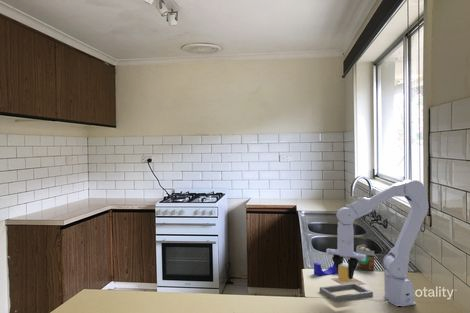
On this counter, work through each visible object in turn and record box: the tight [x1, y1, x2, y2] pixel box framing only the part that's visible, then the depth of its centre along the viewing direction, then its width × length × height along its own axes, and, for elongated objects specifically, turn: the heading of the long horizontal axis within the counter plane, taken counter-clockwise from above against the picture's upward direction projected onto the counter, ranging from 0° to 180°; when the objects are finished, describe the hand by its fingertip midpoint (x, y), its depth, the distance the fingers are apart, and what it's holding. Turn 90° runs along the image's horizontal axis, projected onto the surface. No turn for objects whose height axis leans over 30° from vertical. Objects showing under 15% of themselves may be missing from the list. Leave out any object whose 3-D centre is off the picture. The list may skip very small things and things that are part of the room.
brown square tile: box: [331, 277, 366, 286], centre depth 138 cm, size 10×10×1 cm
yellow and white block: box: [337, 261, 354, 282], centre depth 125 cm, size 4×5×6 cm
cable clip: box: [313, 262, 338, 277], centre depth 149 cm, size 12×4×6 cm, turn 109°
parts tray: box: [319, 283, 374, 303], centre depth 125 cm, size 10×16×2 cm, turn 109°
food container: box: [355, 244, 376, 272], centre depth 159 cm, size 12×6×10 cm, turn 178°
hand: (345, 276), depth 125 cm, fingers closed on yellow and white block, 3 cm apart
